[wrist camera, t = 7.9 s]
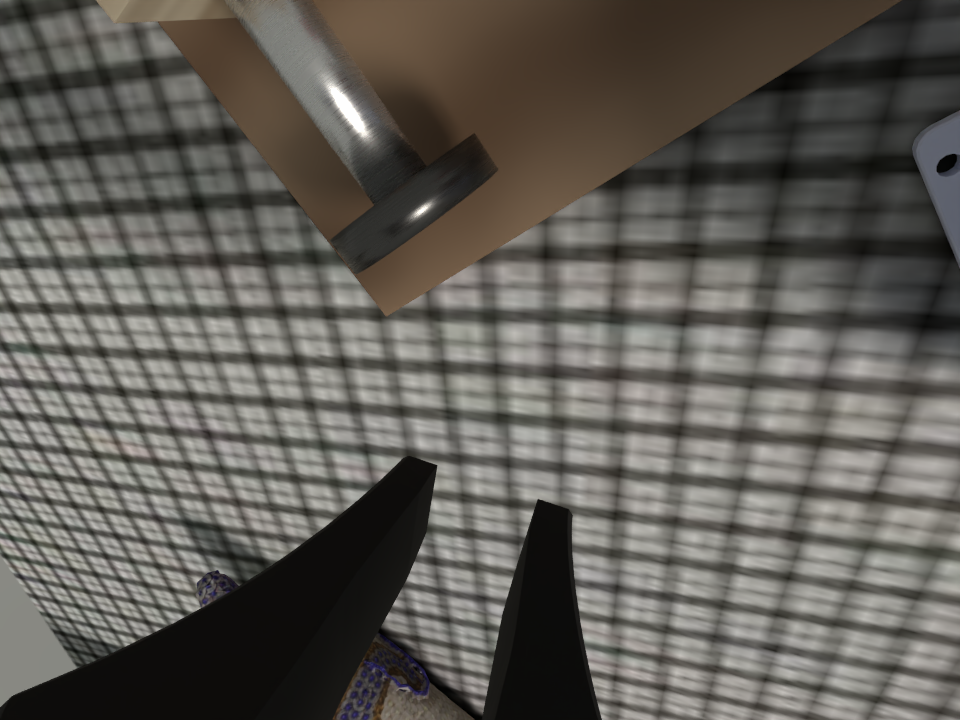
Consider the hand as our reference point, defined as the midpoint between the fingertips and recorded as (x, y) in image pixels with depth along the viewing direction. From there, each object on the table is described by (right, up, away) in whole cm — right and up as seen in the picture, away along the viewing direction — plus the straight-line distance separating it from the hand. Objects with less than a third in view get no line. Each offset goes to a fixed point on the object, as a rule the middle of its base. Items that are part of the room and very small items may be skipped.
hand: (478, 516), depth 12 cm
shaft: (-3, +11, +4) cm, 12 cm away
